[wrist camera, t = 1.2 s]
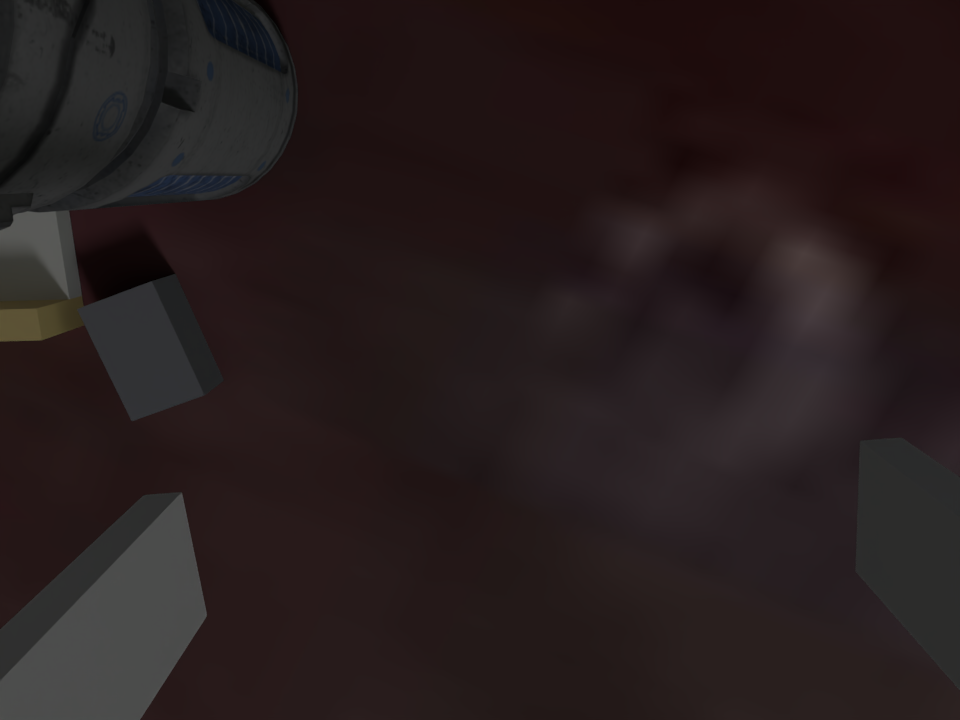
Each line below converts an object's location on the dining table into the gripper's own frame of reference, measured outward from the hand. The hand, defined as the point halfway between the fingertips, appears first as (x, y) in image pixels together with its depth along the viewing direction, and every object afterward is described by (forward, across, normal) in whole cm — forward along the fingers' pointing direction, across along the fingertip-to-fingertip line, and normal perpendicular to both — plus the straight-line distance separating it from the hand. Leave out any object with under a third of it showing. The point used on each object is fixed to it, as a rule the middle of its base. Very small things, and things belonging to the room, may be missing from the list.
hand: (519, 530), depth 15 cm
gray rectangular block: (+25, -18, 0) cm, 31 cm away
